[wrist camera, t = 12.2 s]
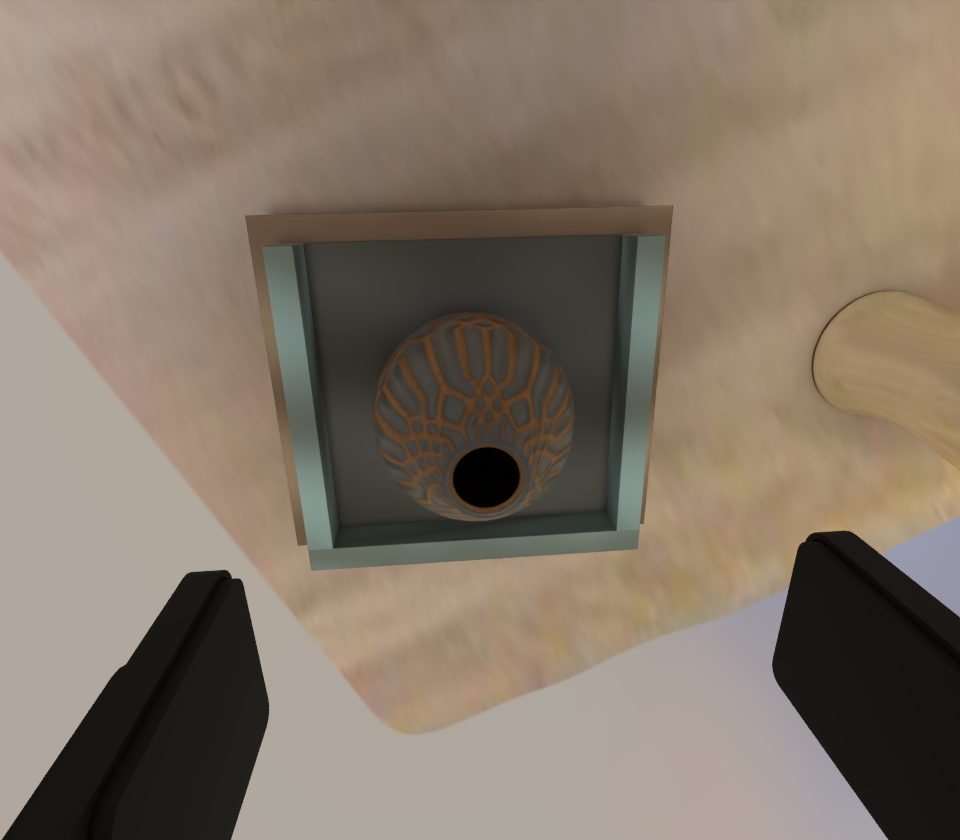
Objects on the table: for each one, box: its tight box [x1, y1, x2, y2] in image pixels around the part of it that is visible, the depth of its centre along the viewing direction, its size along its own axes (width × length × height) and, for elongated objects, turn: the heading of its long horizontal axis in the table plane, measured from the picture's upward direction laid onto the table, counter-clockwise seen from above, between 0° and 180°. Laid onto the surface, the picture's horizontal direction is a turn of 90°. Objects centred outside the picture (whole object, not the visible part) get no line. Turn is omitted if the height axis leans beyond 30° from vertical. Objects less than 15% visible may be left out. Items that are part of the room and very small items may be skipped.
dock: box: [245, 206, 673, 571], centre depth 24 cm, size 14×16×5 cm
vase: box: [373, 312, 575, 521], centre depth 19 cm, size 7×7×9 cm
